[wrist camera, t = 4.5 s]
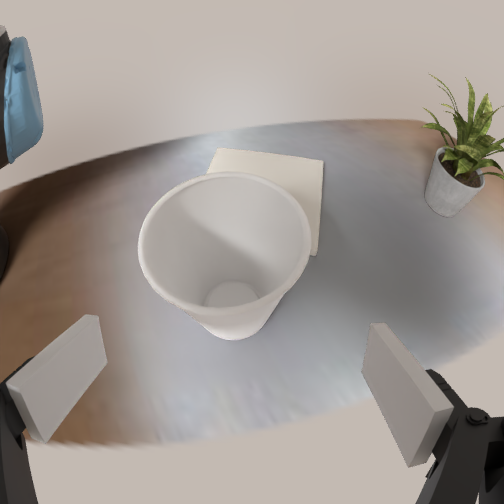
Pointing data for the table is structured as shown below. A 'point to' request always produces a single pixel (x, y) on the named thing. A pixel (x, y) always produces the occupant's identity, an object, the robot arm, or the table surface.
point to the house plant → (462, 159)
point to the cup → (225, 250)
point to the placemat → (280, 178)
